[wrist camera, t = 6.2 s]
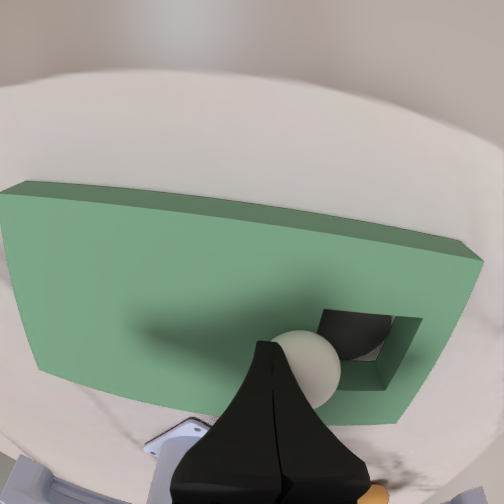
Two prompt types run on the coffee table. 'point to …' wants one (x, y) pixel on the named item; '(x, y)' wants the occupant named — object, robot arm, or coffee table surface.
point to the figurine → (375, 495)
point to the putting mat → (225, 294)
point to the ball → (311, 364)
